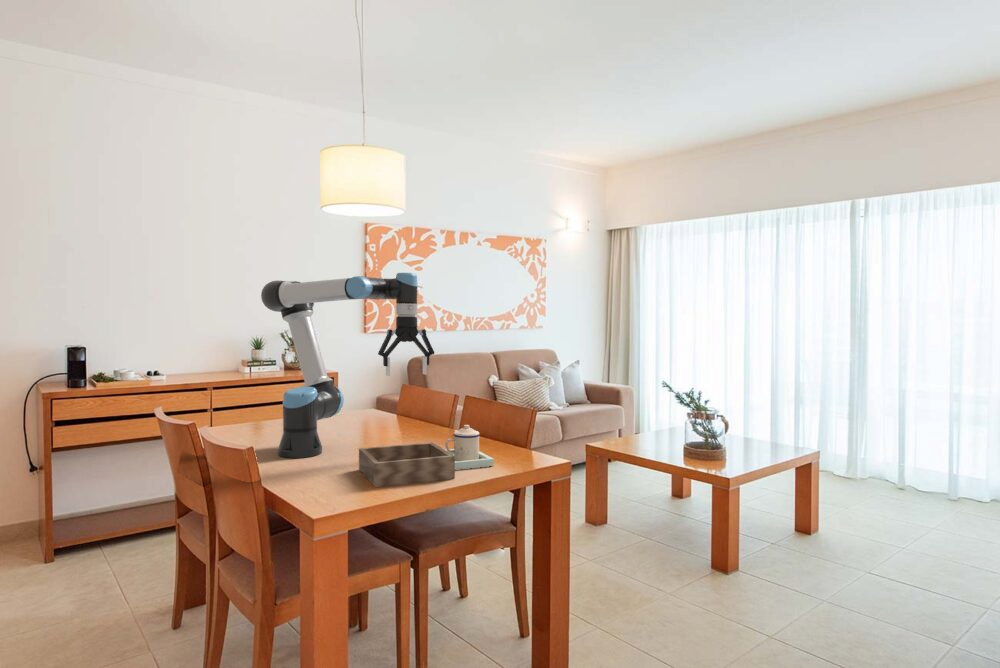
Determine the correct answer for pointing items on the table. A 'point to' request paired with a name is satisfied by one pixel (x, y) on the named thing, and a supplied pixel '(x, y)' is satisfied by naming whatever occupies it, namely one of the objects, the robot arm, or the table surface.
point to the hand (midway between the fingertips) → (406, 374)
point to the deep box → (406, 464)
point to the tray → (474, 462)
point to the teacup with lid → (465, 444)
